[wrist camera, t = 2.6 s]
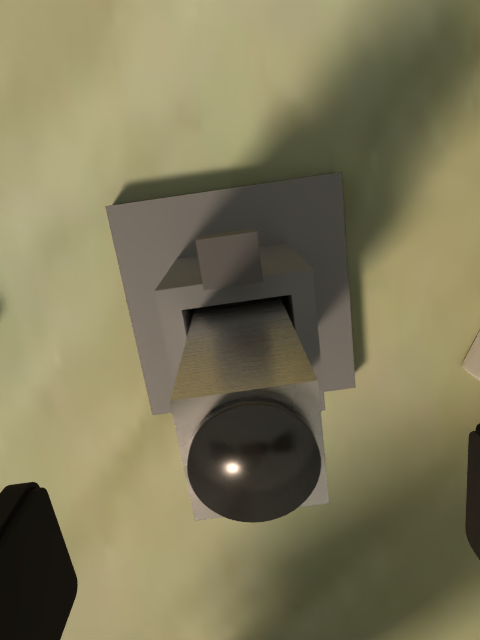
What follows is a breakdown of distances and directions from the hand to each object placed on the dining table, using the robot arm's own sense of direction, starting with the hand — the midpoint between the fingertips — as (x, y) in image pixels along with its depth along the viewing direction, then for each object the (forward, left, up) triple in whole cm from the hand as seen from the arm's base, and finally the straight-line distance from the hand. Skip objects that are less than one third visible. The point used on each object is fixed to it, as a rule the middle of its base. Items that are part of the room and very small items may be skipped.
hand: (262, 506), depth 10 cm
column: (0, 0, -19) cm, 19 cm away
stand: (0, 0, -20) cm, 20 cm away
